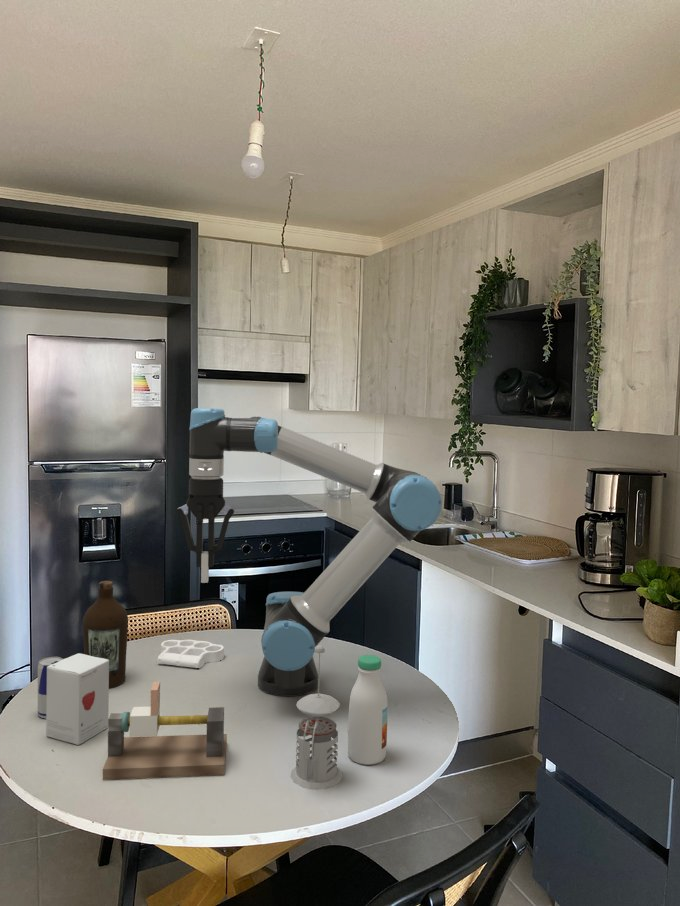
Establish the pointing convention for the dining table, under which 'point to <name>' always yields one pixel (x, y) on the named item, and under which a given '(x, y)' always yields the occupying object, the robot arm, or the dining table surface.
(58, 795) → the dining table surface
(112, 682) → the olive oil
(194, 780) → the dining table surface
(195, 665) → the white brass knuckles
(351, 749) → the milk bottle
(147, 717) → the cube with tan panel
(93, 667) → the supplement box
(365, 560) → the robot arm
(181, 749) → the axle on two posts
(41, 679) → the energy drink
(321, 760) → the french press
